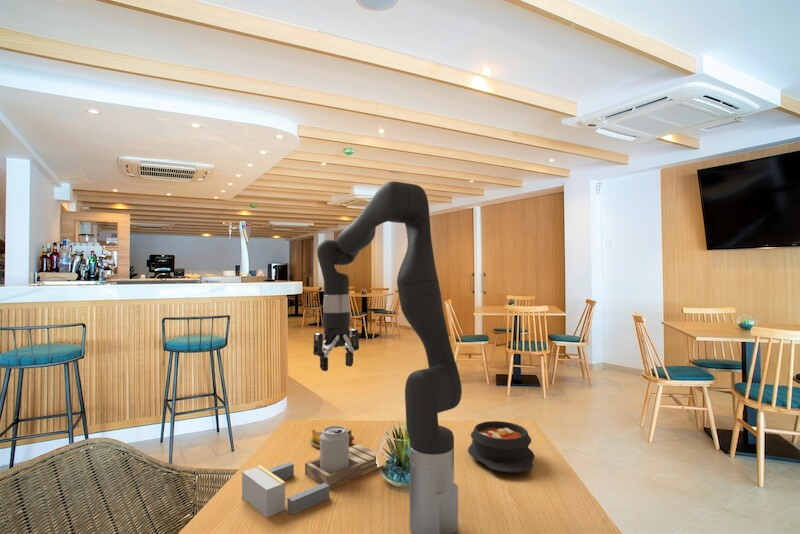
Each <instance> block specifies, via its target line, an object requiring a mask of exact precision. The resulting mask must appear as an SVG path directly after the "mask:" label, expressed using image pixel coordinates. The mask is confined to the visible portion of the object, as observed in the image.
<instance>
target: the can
mask: <svg viewBox="0 0 800 534" xmlns="http://www.w3.org/2000/svg"><path fill="white" fill-rule="evenodd" d="M346 429H347V428H346V427H345V426H342V425H330V426H327V427H325V428H323V429H322V432H323V433H322V432H321V433H322V434H321V436H320V448H319V449H320V450H319V453H320V454H319V458H320V469H322V470H324V471H325V472H327V473H329V474H333V473H335V472H338V471H340V470H343V469H345V468H348V467H349V447H350V442H349V434H348V433H347V432H346Z"/></svg>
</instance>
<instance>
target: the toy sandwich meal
mask: <svg viewBox="0 0 800 534" xmlns="http://www.w3.org/2000/svg"><path fill="white" fill-rule="evenodd" d="M346 432H347V433H348V434H349V443H351V442H352V441H354V440H355V438H354V437H355V436H353V435H352V429H349V428H346ZM311 433H312V437H311V439H310V444H311V445H312V446H313V447H315V448H317V449H320V436H321V434H322V433H323V431H322V432H321V431H320V432H319V431H318V432H317V431H316V430H315V429H312V431H311Z"/></svg>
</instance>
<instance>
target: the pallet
mask: <svg viewBox="0 0 800 534" xmlns="http://www.w3.org/2000/svg"><path fill="white" fill-rule="evenodd" d="M304 464H305V465H304V475H305V476H307V477H308V478H310V479H311V480H313V481H315V482H316V483H318V484H319V485H320V484H322V483H326V484H328V485H330V490H331V489H334V488H336V487H338V486H341V485H344V484H345V483H348V482H349V481H353V480H355V479H357V478H360V477H361V476H364V475H366V474H368V473H371V472H373V471H375V470H378V469H379V468H377V464H376V451H374V450H372V449H370V448H367V447H365V446H363V445H361V444H359V443H357V444H355V445H352V446H349V467H348V468H345V469H343V470H340V471H338V472H335V473H333V474H329V473H327V472H325V471H324V470H322V469H320V457H318V458H315V459H313V460H312V459H311V460H310V461H307V462H304Z"/></svg>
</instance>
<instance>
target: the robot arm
mask: <svg viewBox="0 0 800 534" xmlns="http://www.w3.org/2000/svg"><path fill="white" fill-rule="evenodd" d="M387 222H389V223H397V224H404V226H405V229H406V234H407V235H406V237H407V239H406V240H407V247H406V252H405V254H404V257H403V260H402V263H401V265H400V266H399V267H400V268H399V271H398V274H397V278H396V284H397V285H396V286H397V293H398V299H399V305H400V309H401V312H402V314H403V317H404V318H405V319H406V321H407V322H408V325H410V326H411V328H412V330H414V332H415V333H416V335H417V336H418V338H419V339H420V341H421V343H422V345H423V347H424V348H423V349H424V350H425V355H426V359H427V363H428V368H423V369H422V368H421V369H418V370H414V371H413V372H411V373H410V374H409V375H408V376H407V379H406V380H405V381H406V382H405V385H404V386H405V387H404V400H405V401H404V403H405V421H406V423H405V424H406V425H405V426H406V430H407V434H408V438H409V531H410V533H411V534H456V533H458V532H459V486H458V484H455V436H454V433H453V431H452V430H451V429H449V428H448V427H445V426H442V425H439V416H438V414H440V413H443V412H446V411H447V412H448V411H450V410H453V409H455V408H457V406H459V404H460V402H461V400H462V395H463V394H462V393H463V392H462V389H463V388H462V381H461V377H460V372H459V370H458V366H457V363H456V358H455V356H454V353H453V349H452V344H451V341H450V336H449V331H448V327H447V322H446V318H445V312H444V306H443V300H442V299H443V298H442V293H441V287H440V283H439V277H438V273H437V267H436V261H435V257H434V256H435V254H434V250H433V249H434V248H433V240H432V232H431V219H430V207H429V201H428V196H427V193H426V190H425V189H424V188H423V187H422V186H420V185H418V184H414V183H410V182H409V183H408V182H402V181H387V182H385V183H384V184H383V185H381V187H379V188H378V189H377V190H376V192H375V193H374V195H373V196H372V197H371V199H370V200H369V201H368V202H367V204H366V205H365V207H364V208H363V210H362V211H361V212H360V214H359V215H358V217H357V218H356V219H355V220H353V222H351V223H350V224H349V225H348V226H347V227H345V228H344V229H343V230H342V231H341V232H340V233H339V234H338V236H337V238H336V239H324V240H322V241H320V243H319V245H318V247H317V249H316V254H317V255H316V256H317V259H318V263H319V267H320V271H321V274H322V279H323V302H322V304H323V305H322V315H323V316H322V317H323V318H322V322H323V323H322V324H323V325H322V326H323V328H324V331H323V332H322V333H319V332H315V333H314V334H313V349H312V350H313V355H314V356H316V357H317V356H318V357H319V367H320V369H321V371H323V372H328V371H329V357H328V356H329V354H330V352H332V351H333V349H334V348H338V347H342V348H343V349H344V350H345V366H346V367H352V366H353V364H354V353H355V351H359V349H360V342H359V341H360V339H359V330H358V329H357V328H356V329H355V328H350V326H351V299H350V280H349V279H350V278H349V276H348V274H347V273H346V274H345V273H342V272H339V271H338V270H337V269H336V267H335V266H338V265H339V266H347V265H349V264H352V263H353V262H354V261H355V259H356V257H357V255H358V254H359V252H360V251H362V250H363V249H364V248H366V247H367V246H368V245H370V244H371V242H373V240H374V239H375V235H376V228H377V227H378V226H380V225H381V224H384V223H387Z"/></svg>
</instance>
